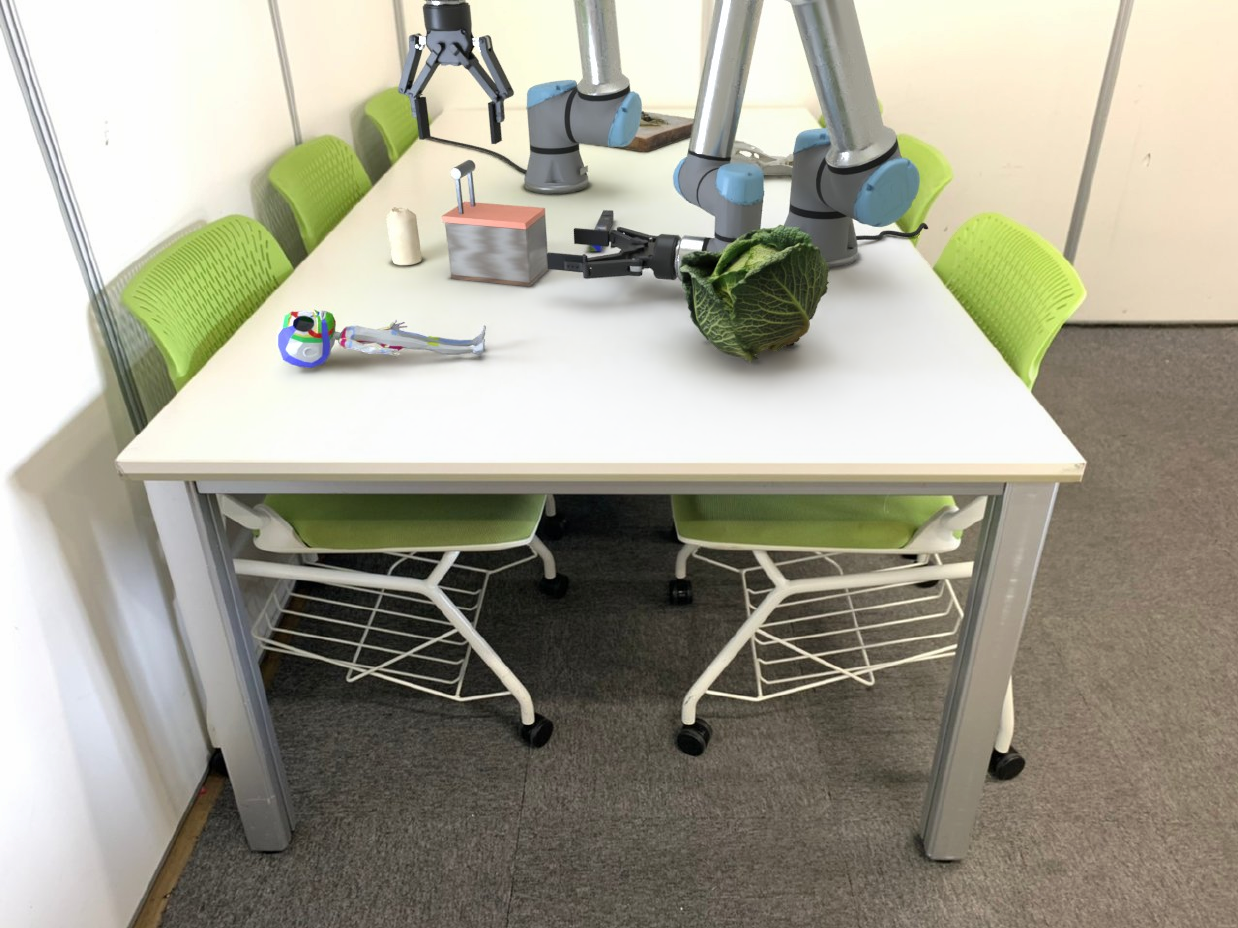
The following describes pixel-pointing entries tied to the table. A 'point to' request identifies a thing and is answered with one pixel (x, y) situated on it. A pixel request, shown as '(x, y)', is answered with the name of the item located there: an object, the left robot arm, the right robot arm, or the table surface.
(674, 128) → the plaque
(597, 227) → the pillar
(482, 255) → the chest
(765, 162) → the anatomical model
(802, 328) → the vegetable
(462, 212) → the lid
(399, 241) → the candle
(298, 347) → the toy
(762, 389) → the table surface
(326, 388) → the table surface
